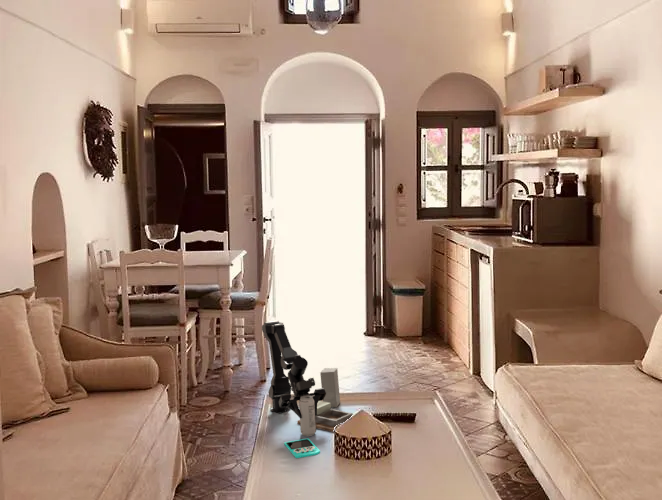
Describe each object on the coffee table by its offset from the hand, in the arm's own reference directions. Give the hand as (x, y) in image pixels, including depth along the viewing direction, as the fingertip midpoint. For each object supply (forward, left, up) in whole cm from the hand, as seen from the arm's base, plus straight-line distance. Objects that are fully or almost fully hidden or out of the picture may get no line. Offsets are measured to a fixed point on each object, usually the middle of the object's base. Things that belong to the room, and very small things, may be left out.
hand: (308, 416), depth 288 cm
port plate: (-3, +16, -8) cm, 18 cm away
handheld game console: (+7, -12, -8) cm, 16 cm away
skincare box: (-17, +35, -8) cm, 39 cm away
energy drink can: (-1, +1, -8) cm, 8 cm away
